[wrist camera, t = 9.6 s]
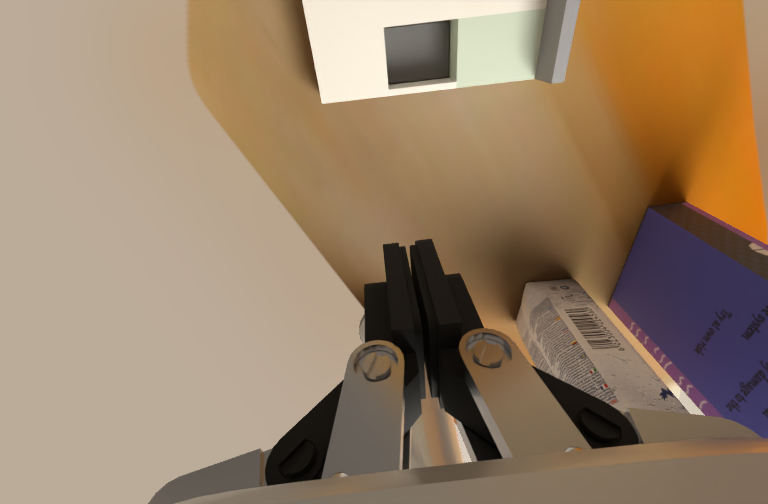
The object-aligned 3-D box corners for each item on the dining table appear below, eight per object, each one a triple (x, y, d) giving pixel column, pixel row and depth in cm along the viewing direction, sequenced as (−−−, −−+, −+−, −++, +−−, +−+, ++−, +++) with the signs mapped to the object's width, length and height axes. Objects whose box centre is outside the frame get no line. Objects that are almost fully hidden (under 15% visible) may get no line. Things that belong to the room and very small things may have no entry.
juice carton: (508, 326, 52) (618, 549, 30) (520, 276, 46) (669, 509, 24) (562, 322, 52) (712, 540, 30) (581, 271, 46) (787, 497, 24)
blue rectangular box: (638, 301, 50) (816, 477, 31) (607, 305, 50) (765, 483, 31) (686, 201, 40) (996, 367, 21) (647, 206, 40) (921, 376, 21)
